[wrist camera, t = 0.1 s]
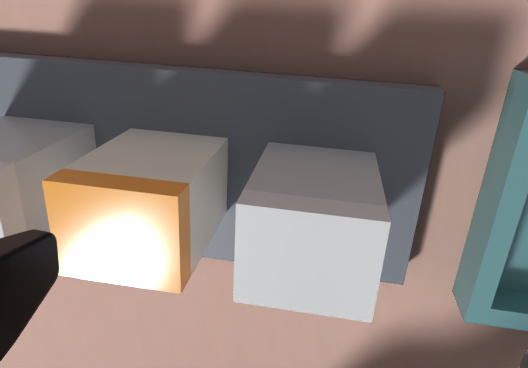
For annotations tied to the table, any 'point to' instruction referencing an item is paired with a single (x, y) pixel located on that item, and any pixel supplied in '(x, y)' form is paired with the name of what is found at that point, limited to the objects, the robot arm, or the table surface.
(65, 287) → the table surface
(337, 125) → the board
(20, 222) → the block
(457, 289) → the teal tray
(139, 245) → the block
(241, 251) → the block
